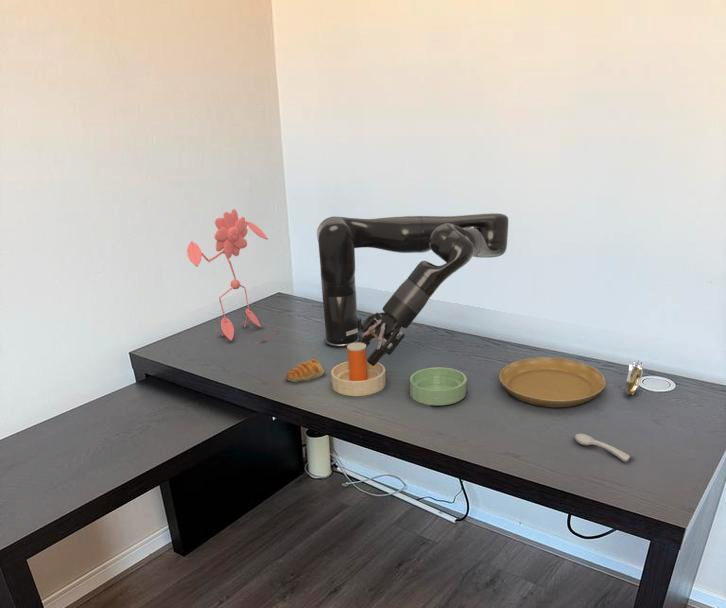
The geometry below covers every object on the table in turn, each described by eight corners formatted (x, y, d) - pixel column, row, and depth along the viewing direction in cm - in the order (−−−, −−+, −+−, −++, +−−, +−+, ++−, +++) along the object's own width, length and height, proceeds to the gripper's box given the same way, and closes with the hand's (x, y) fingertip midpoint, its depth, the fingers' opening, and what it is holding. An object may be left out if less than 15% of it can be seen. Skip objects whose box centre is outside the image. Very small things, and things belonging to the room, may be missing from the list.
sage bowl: (418, 380, 169) (418, 364, 167) (471, 386, 165) (471, 370, 163) (403, 403, 159) (402, 387, 157) (458, 410, 155) (459, 393, 153)
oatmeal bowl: (343, 373, 176) (342, 357, 173) (392, 378, 171) (392, 362, 169) (324, 394, 165) (322, 378, 163) (375, 400, 161) (374, 384, 159)
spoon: (579, 437, 142) (580, 428, 140) (630, 461, 134) (633, 452, 133) (570, 442, 140) (572, 434, 139) (622, 466, 133) (625, 458, 132)
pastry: (296, 387, 170) (294, 372, 168) (281, 379, 174) (279, 365, 172) (326, 376, 174) (325, 362, 172) (311, 368, 179) (310, 355, 177)
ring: (631, 401, 154) (637, 368, 150) (617, 397, 156) (623, 365, 152) (644, 390, 158) (650, 358, 154) (631, 387, 160) (637, 355, 156)
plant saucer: (622, 385, 161) (624, 372, 159) (571, 423, 147) (573, 409, 145) (532, 361, 176) (533, 349, 174) (478, 394, 161) (479, 381, 159)
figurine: (198, 344, 198) (173, 218, 179) (262, 318, 214) (246, 200, 195) (233, 355, 189) (211, 224, 170) (297, 327, 205) (284, 204, 186)
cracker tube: (353, 379, 171) (351, 341, 165) (370, 381, 169) (368, 343, 164) (346, 387, 167) (344, 348, 162) (364, 389, 166) (362, 350, 160)
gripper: (429, 321, 158) (384, 376, 161) (404, 304, 169) (364, 355, 173) (407, 302, 154) (362, 359, 157) (384, 286, 165) (342, 339, 168)
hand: (363, 357), depth 165 cm, fingers open, 8 cm apart
